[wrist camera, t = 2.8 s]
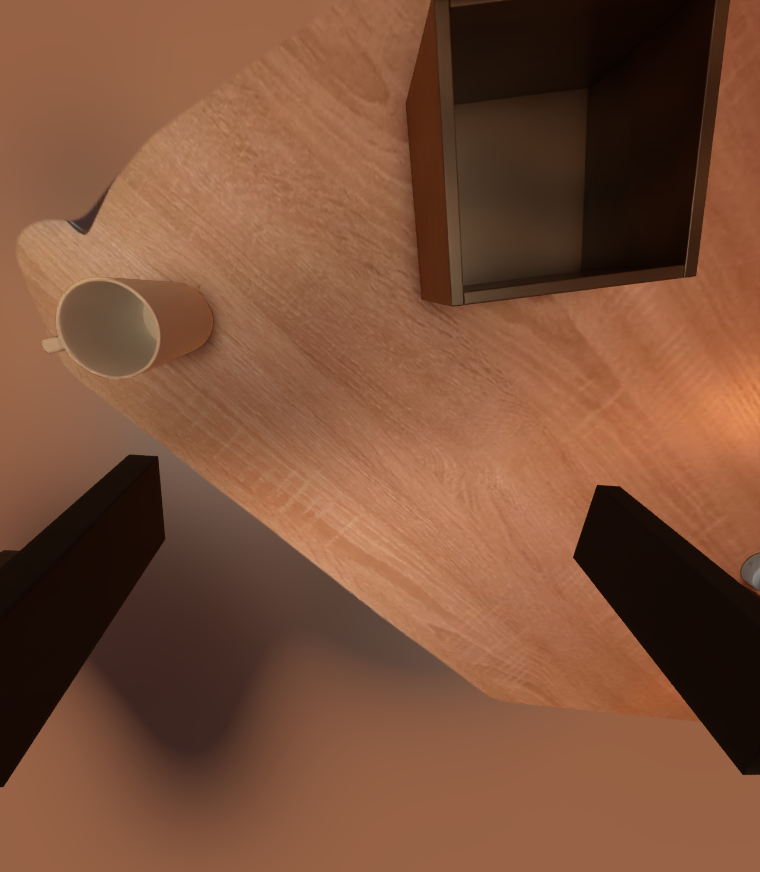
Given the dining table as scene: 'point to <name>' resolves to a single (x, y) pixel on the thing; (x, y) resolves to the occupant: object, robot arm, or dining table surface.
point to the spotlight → (752, 571)
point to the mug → (129, 324)
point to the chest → (561, 143)
